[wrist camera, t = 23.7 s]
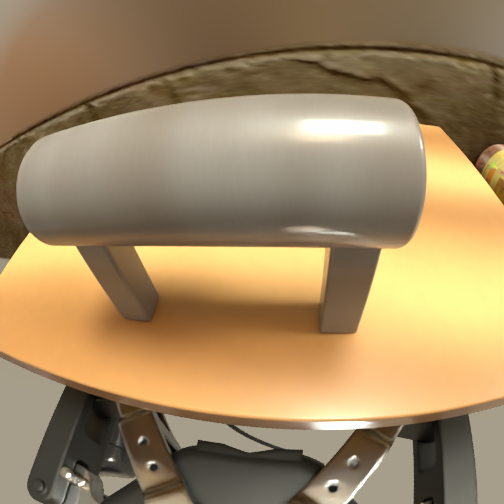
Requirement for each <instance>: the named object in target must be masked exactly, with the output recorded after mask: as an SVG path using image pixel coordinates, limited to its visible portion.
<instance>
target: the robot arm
mask: <svg viewBox="0 0 504 504" xmlns="http://www.w3.org/2000/svg"><path fill="white" fill-rule="evenodd" d="M226 425H228V426H229V427H231V428H232V429H233V430H235V431H236V432H238V433H240V434H241V435H243V436H245V437H247V438H249V439H251V440H253V441H255V442H258V443H260V444H262V445H265V446H267V447H270V448H273V450H266V451H259V452H252V453H247V452H244V451H241V450H238V449H236V448H233V447H230V446H228V445H225V444H221V443H214V442H208V441H202V440H198V444H197V446H190V447H186V448H182V449H181V448H180V446H179V444H178V442H177V441H176V439H175V437H174V436H173V434H172V432H171V430H170V427H169V425H168V423H167V420H166V418H165V416H164V413H160V412H155V411H151V410H147V409H142V408H138V407H134V406H131V405H127V404H123V403H119V402H116V401H112V400H109V399H106V398H102V397H99V396H96V395H93V394H90V393H87V392H84V391H81V390H78V389H75V388H72V387H69V386H66V387H65V389H64V391H63V394H62V396H61V398H60V400H59V403H58V404H57V407H56V409H55V411H54V414H53V416H52V418H51V421H50V423H49V426H48V428H47V430H46V433H45V435H44V438H43V440H42V443H41V445H40V448H39V450H38V453H37V456H36V459H35V462H34V464H33V467H32V470H31V473H30V475H29V478H28V483H27V488H28V491H29V494H30V495H31V496H32V497H33V499H35V500H37V501H39V502H41V503H43V504H357V503H356V501H355V500H354V499H353V497H354V496H355V495H356V493H357V492H358V491H359V490H360V488H361V487H362V486H363V485H364V483H365V482H366V481H367V480H368V478H369V477H370V476H371V475H372V473H373V472H374V470H375V469H376V468H377V466H378V465H379V464H380V462H381V461H382V460H383V458H384V457H385V455H386V454H387V453H388V451H389V450H390V448H391V446H392V444H393V442H394V440H395V439H396V437H402V438H406V439H411V440H413V454H414V504H477V481H476V468H475V458H474V449H473V441H472V434H471V427H470V421H469V416H468V414H466V415H461V416H456V417H451V418H446V419H441V420H435V421H429V422H422V423H415V424H408V425H399V426H390V427H379V428H364V429H356V430H355V431H354V433H353V434H352V435H351V436H350V437H349V439H348V440H347V441H346V442H345V444H344V445H343V446H342V447H341V448H340V450H339V451H338V452H337V453H336V454H335V455H334V457H333V458H332V459H331V460H330V461H329V462H328V463H327V464H326V466H324V463H322V462H320V461H317V460H316V459H313V458H311V457H308V456H305V455H302V453H303V450H289V449H284V448H280V447H278V446H275V445H272V444H270V443H267V442H264V441H262V440H260V439H258V438H255V437H253V436H251V435H249V434H248V433H246V432H244V431H242V430H241V429H239V428H238V427H236V426H235V425H231V424H226ZM100 476H111V477H121V478H134V477H137V479H135V480H134V481H132V482H131V483H129V484H128V485H126V486H125V487H123V488H121V489H120V490H118V491H117V492H115V493H114V494H112V495H110V496H107V495H105V494H103V493H104V489H103V483H102V480H101V479H100Z"/></svg>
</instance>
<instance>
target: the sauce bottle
mask: <svg viewBox="0 0 504 504" xmlns="http://www.w3.org/2000/svg"><path fill="white" fill-rule="evenodd" d="M475 168H476V169H477V171H478V172H479V173H480V174H481V176H482V177H483V178H484V179H485V181H486V182H487V183H488V185H489V186H490V187H491V189H492V190H493V192H494V193H495V194H496V196H497V197H498V198H499V200H500V201H501V203H502V204H503V206H504V145H501V144H497V145H492V146H491V147H488V148H487V149H486V150H484V151H483V152H482V153H481V154H480V156H479V158H478V160H477V162H476V164H475Z"/></svg>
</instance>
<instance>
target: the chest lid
mask: <svg viewBox="0 0 504 504" xmlns="http://www.w3.org/2000/svg"><path fill="white" fill-rule="evenodd" d="M16 198H17V205H18V209H19V213H20V215H21V218H22V220H23V222H24V224H25V226H26V227H27V229H28V230H29V232H30V233H29V234H28V236H27V237H26V238H25V240H24V241H23V242H22V244H21V245H20V247H19V248H18V250H17V251H16V252H15V254H14V255H13V257H12V258H11V260H10V261H9V263H8V264H7V266H6V267H5V269H4V270H3V272H2V274H1V275H0V357H2V358H3V359H5V360H8V361H10V362H12V363H14V364H16V365H18V366H20V367H22V368H25V369H27V370H29V371H31V372H34V373H36V374H39V375H41V376H44V377H46V378H48V379H51V380H53V381H56V382H58V383H61V384H64V385H66V386H69V387H72V388H75V389H78V390H81V391H84V392H87V393H90V394H93V395H96V396H99V397H102V398H106V399H109V400H112V401H116V402H119V403H123V404H127V405H131V406H134V407H138V408H142V409H147V410H151V411H155V412H160V413H165V414H169V415H174V416H179V417H185V418H190V419H196V420H202V421H209V422H216V423H223V424H231V425H241V426H251V427H262V428H277V429H300V430H337V429H338V430H340V429H364V428H379V427H390V426H399V425H408V424H415V423H422V422H429V421H435V420H441V419H446V418H451V417H456V416H461V415H466V414H470V413H475V412H479V411H483V410H487V409H490V408H494V407H498V406H501V405H504V206H503V204H502V203H501V201H500V200H499V198H498V197H497V196H496V194H495V193H494V192H493V190H492V189H491V187H490V186H489V185H488V183H487V182H486V181H485V179H484V178H483V177H482V176H481V174H480V173H479V172H478V171H477V169H476V168H475V167H474V166H473V164H472V163H471V162H470V161H469V160H468V158H467V157H466V156H465V155H464V154H463V152H462V151H461V150H460V149H459V148H458V147H457V146H456V144H455V143H454V142H453V141H452V140H451V139H450V138H449V137H448V136H447V135H446V134H445V133H444V131H443V130H442V129H441V128H440V127H436V126H429V125H421V124H419V123H418V120H417V118H416V116H415V114H414V112H413V110H412V109H411V108H410V107H409V105H407V104H406V103H405V102H403V101H401V100H399V99H394V98H385V97H374V96H361V95H343V94H269V95H251V96H238V97H226V98H217V99H208V100H200V101H192V102H185V103H179V104H172V105H166V106H161V107H155V108H150V109H145V110H140V111H135V112H130V113H126V114H121V115H117V116H113V117H109V118H105V119H101V120H97V121H93V122H90V123H86V124H83V125H79V126H76V127H72V128H69V129H66V130H63V131H59V132H56V133H53V134H50V135H47V136H45V137H43V138H41V139H40V140H38V141H37V142H36V143H35V144H34V145H32V147H31V148H30V149H29V151H28V152H27V153H26V155H25V157H24V158H23V161H22V163H21V165H20V168H19V172H18V176H17V183H16Z"/></svg>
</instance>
